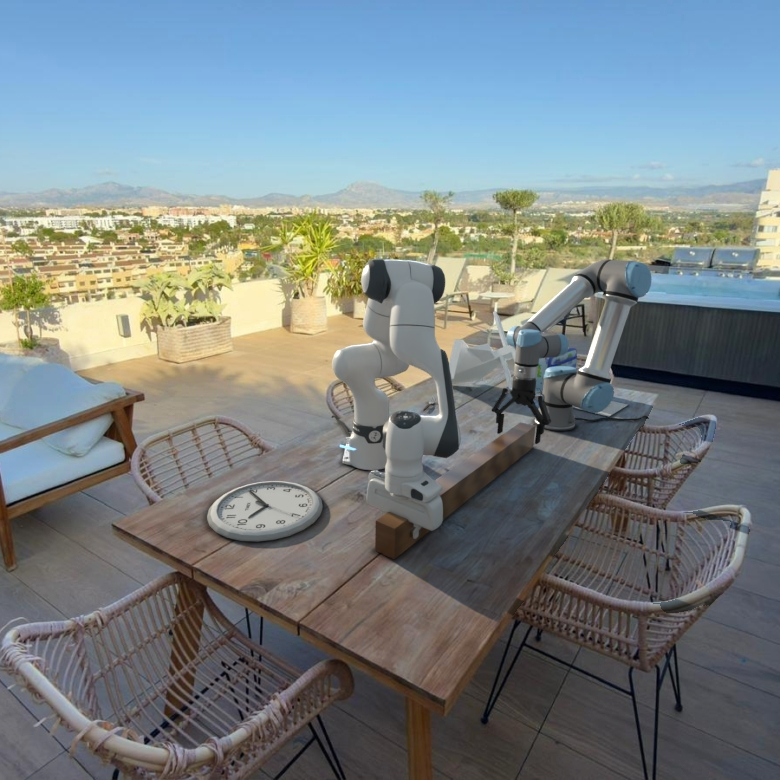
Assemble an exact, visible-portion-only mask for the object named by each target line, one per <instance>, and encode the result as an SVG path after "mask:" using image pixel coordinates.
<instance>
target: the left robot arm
mask: <svg viewBox="0 0 780 780" xmlns="http://www.w3.org/2000/svg"><path fill="white" fill-rule="evenodd" d="M360 284H361V289H362V293H363V294H364V295H365V296H366V298H367V301H366V305H365V312H364V315H363V320H362V327H363V330H364V333H365V334H366V335H367V336H368V337H369V338H371V339H373V341H372V342H369V343H361V344H352V345H348V346H345V347H343V348H339V349H337V350H336V351H335V353H333V356H332V361H331V367H332V371H333V374H334V376H335V377H336V378H337V379H338V380H339V381H341V382H343V383H344V384H345V385H346V386H347V387H348V389H349V391H350V393H351V396H352V400H353V412H354V413H353V414H354V417H353V418H354V419H353V421H352V431H349V429H348V427H347V426H346V425H345V424H344V423H343V422H342V421H341V420H340V418H338V416H337V415H336V414H332V416H331V418H332V419H333V418H334V419H335V420H336V421H337V422H338V423H339V425H341V427H342V428H343V429H344V430H345V432H346V433H347V435H348V436H346V437H345V445H343V444H339V448H342V449H344V453H343V457H342V464H344V465H347V466H351V467H353V468H357V469H360V470H365V471H370V472H369V473H368V484H367V488H366V499H365V500H366V503H367V505H369V506H370V507H372V508H375V509H378V510H380V511H381V512H382V516H383V515H385V514H386V513H388V512H391V513H394V514H396V515H399V516H401V517H404V518H406V519H408V521H409V522H411V523H414V527H416V528H413V529H412V530H411V531H410V537H412V538H414V539H416V538H417V537H418V536H419V530H420V529H421V527H423V528H426V529H428V530H430V532H434V531H435V530H437V529H438V528H439V527H441V525H442V524H443V521H444V520H443V503H442V499H441V497H440V496H439V495H438V494H439V493H440V492H441V490H442V487H441V485H440V484H439V483H437V482H436V481H435V479H433V478H432V477H431V476H429V475H428V474H427V473H426V472H425V471H424V465H423V458H424V457H423V456H433V457H437V458H442V459H447V458H450V457H452V456H453V455H454V454H455V453H457V452H458V451H459V450H460V446H461V441H462V435H461V434H462V433H461V428H460V425H459V422H458V418H457V414H456V403H455V395H454V386H453V384H452V379H451V373H450V367H449V361H450V360H449V357H448V354H447V352H446V351H445V350H444V349H442V348H441V347H440V345H439V344H438V341H437V337H436V310H435V304H437V303H438V302H439V301H441V299H442V298H443V296H444V293H445V290H446V276H445V272H444V270H443V269H442V268H441V267H440V266H438V265H435V264H432V263H424V262H420V261H415V260H408V259H405V260H404V259H384V258H373V259H369V260H368V261H367V262H366V263H365V265H364V267H363V269H362V272H361V276H360ZM410 366H411V367H414V368H416V369H418V370H420V371H423V372H425V373H426V374H428V375H429V376H430V377H431V378H432V379H433V381H434V383H435V388H436V395H437V396H436V397H437V403H438V410H439V412H438V414H436V415H422V414H421V415H420V414H419V413H418V412H416V411H413V410H407V409H406V410H404V409H403V410H397V411H395V412H394V413H392V414H391V415H390V397H389V395H388V394H387V393H386V392H385V391H384V390H381V389H379V388H377V387H376V385H375V380H376V379H383V378H390V377H395V376H397V375H400V374H402V373H404V372H407V370H408V369H409V367H410ZM379 470H384V472H381V471H379Z"/></svg>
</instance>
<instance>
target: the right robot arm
mask: <svg viewBox="0 0 780 780" xmlns="http://www.w3.org/2000/svg"><path fill="white" fill-rule="evenodd" d="M652 280H653V279H652V273H651V269H650V268H649V266H648V264H646V263H644V262H642V261H636V260H623V259H622V260H620V259H612V258H611V259H609V258H608V259H607V258H606V259H600V260H598V261H596V262H593V263H591V264H589V265H588V266H586V267H584V268H582V269H581V270H580V271H579V272H578V273H575V275H574V276H573V277H572V278H571V279H570V283H569V284H568V285H567V286H565V287H564V288H563V289H562V290H560V292H558V293H557V294H556V295H555V296H554V297H553V298H552V299H551V300H550V301H549V302H547V303H546V304H545V305H544V306H543V307H542V308H541V309H539V311H537V312H536V313H535V314H533V316H532V317H531V318H529V319H528V320H527V321H526V322H525V323H523V325H521V326H520V325H514V326H511V327H510V328H509V329H508V331H507V333H506V340H507V344H508V345H510V346H513V347H514V348H515V349H516V356H515V363H514V367H513V377H512V381H513V383H512V389H509V387H508V386H505V387H503V388H502V390H501V394H500V395H499V398H498V399H497V400H496V401H495V403H494V405H493V406H492V408H491V412H492V413H495V415H496V416H495V424H497V430H496V433H497V435H500V434H501V433H503V430H504V419H505V413H504V412H505V411H506V410H507V409H509V407H511V406H512V405H513V404H514V403H515V404H516V405H521V406H525V407H527V408H528V409H529V410H530V411H531V413H532V415H533V416H534V424H535V426H536V428H535V436H534V444H535V445H538V444H539V443H540V442H541V438H542V437H541V436H542V435H544V433H545V430H549V431H556V432H567V431H572V430H574V429H575V428H576V421H584V422H591V423H593V422H598V421H602V420H610V421H611V420H612V421H640V420H642V419H644V418H645V419H647V420H650V418H649V416H648V415H642V416H640V417H637V418H621V417H620V418H619V417H616V418H615V417H599V418H596V419H589V418H583V417H576V416H575V413H574V407H578V408H581V409H583V410H582V411H584V412H588V411H589V412H588V413H592V412H593V414H596V413H598V412H601V411H603V410H604V409H605V408H606V407H607V406H608V405H609V404H610V403H611V401H613V398H614V396H615V391H614V389H615V387H614V386H613V385H612V384H611V381H612V377H611V375H610V370H611V367H612V364H613V362H614V358H615V355H616V352H617V349H618V346H619V343H620V340H621V337H622V334H623V331H624V328H625V325H626V322H627V319H628V317H629V314H630V311H631V308H632V307H633V306H635V305H637V304H638V301H639V298H644V297H645V296H646V295H647V294H648V293H649V291H650V289H651V286H652ZM597 293H602V294H601V295H602V298H603V300H604V304H603V306H602V310H601V313H600V317H599V319H598V322H597V325H596V329H595V331H594V335H593V336H592V337H593V338H592V340H591V344H590V347H589V350H588V353H587V356H586V359H585V362H584V365H583V366H582V367H580V368H579V369H577V367H576V368H575V367H569V366H555V367H549V368H547V369H546V370H545V374H544V379H543V390H542V393H541V394H537V393H536V392H535V389H536V381H537V380H536V377H537V372H538V364H539V359H540V358H549V357H558V356H562V355H564V354H566V353H567V351H568V348H570V342H569V339H568V337H567V336H566V335H565V334H562V333H548V332H549V331H550V330H551V329H552V328H553V327H555V326H556V325H557V324H558V323H559V322H560V321H561V320H563V319H564V317H566V316H567V315H568V314H569V313H570V312H571V311H573V310H574V309H575V308H576V307H577V306H578V305H580V303H582V302H583V301H584V300H585V299H589V298H591V297H593V295H595V294H597ZM508 395H510V396H511V397H512V398H511V399H510V400H508V401H507V402H505V404H504V405H503V406H502V404H503V402H504V401H505V399H506V398H507V396H508ZM535 400H536V401H535ZM536 402H537V403H538V406H537V405H536V404H537V403H536ZM501 406H502V407H501ZM500 407H501V408H500Z"/></svg>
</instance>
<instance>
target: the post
mask: <svg viewBox="0 0 780 780" xmlns="http://www.w3.org/2000/svg"><path fill="white" fill-rule="evenodd" d="M535 436H536V425H534V424H529V423H525V422H519V423H518V424H516V425H514V426H513V427H511V428H510V429H508V430H507V431H505V432H504V433H503V434H501V435H499V436H498V437H496V438H495V439H494V440H492V441H490V443H488V444H486V445H485V446H483V447H482V448H481V449H479V450H478V451H476V452H474V453H473V454H471V455H470V456H468V457H467V458H465V459H464V460H463V461H461V462H459V463H458V464H457V465H455V466H453V467H452V468H451V469H449V470H448V471H446V472H445V473H444V474H442V475H441V476H439V477H437V478H436V479H434V481H436V482H437V483H439V484H440V485H441V487H442V490H441V492H440V493H439V494H438V495H439V496H440V497H441V499H442V503H443V521H444V520H446V518H447V517H449V516H450V515H452V514H453V513H454V512H455V511H457V510H458V509H459V508H460V507H461V506H463V505H464V504H465V503H466V502H467V501H469V500H470V499H472V497H474V496H475V495H477V493H480V491H481V490H482V489H484V488H485V487H486V486H487V485H489V484H490V483H491V482H492V481H493V480H495V479H496V478H497V477H499V476H500V475H501V474H502V473H504V472H505V471H506V470H507V469H509V468H510V467H511V466H512V465H514V464H515V463H516V462H517V461H518V460H520V459H521V458H522V457H523V456H524V455H526V454H527V453H529V452H530V451H531V450H532V449H533V448H534V444H535ZM413 528H416V527H414V523H411V522H409V521H408V519H406V518H404V517H401V516H399V515H396V514H394V513H391V512H388V513H386V514H385V515H383V514H382V515H381V516H380V517H379V518H377V519H376V520H375V534H374V535H375V537H374V538H375V539H374V541H375V544H374V545H375V546H374V547H375V548H374V551H375V552H377V553H380V554H382V555H384V556H386V557H388V558H390V559H392V560H396V559H397V558H398V557H400V556H401V555H402V554H403V553H405V551H407V550H408V549H409V548H411V547H412V546H413V545H414V544H415V543H417V542H418V541H419V540H420V539H421V538H423V537H424V536H426V535H427V534H428V533H429V532H431V530H428V529H426V528H423V527H421V529H420V530H419V536H418V537H417V538H416V539H414V538H412V537H410V531H411V530H412V529H413Z"/></svg>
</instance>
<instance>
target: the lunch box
mask: <svg viewBox="0 0 780 780" xmlns="http://www.w3.org/2000/svg"><path fill="white" fill-rule="evenodd" d="M577 359H578V351H577V348H575V347H569V348H568V351H567V353H566V354H564V355H562V356H558V357H549V358H540V359H539V364H538V372H537V377H536V380H537V381H536V389H535V393H539V394H542V390H543V379H544V374H545V370H546V369H547V368H549V367H555V366H569V367H575V368H576V369H577Z"/></svg>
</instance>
